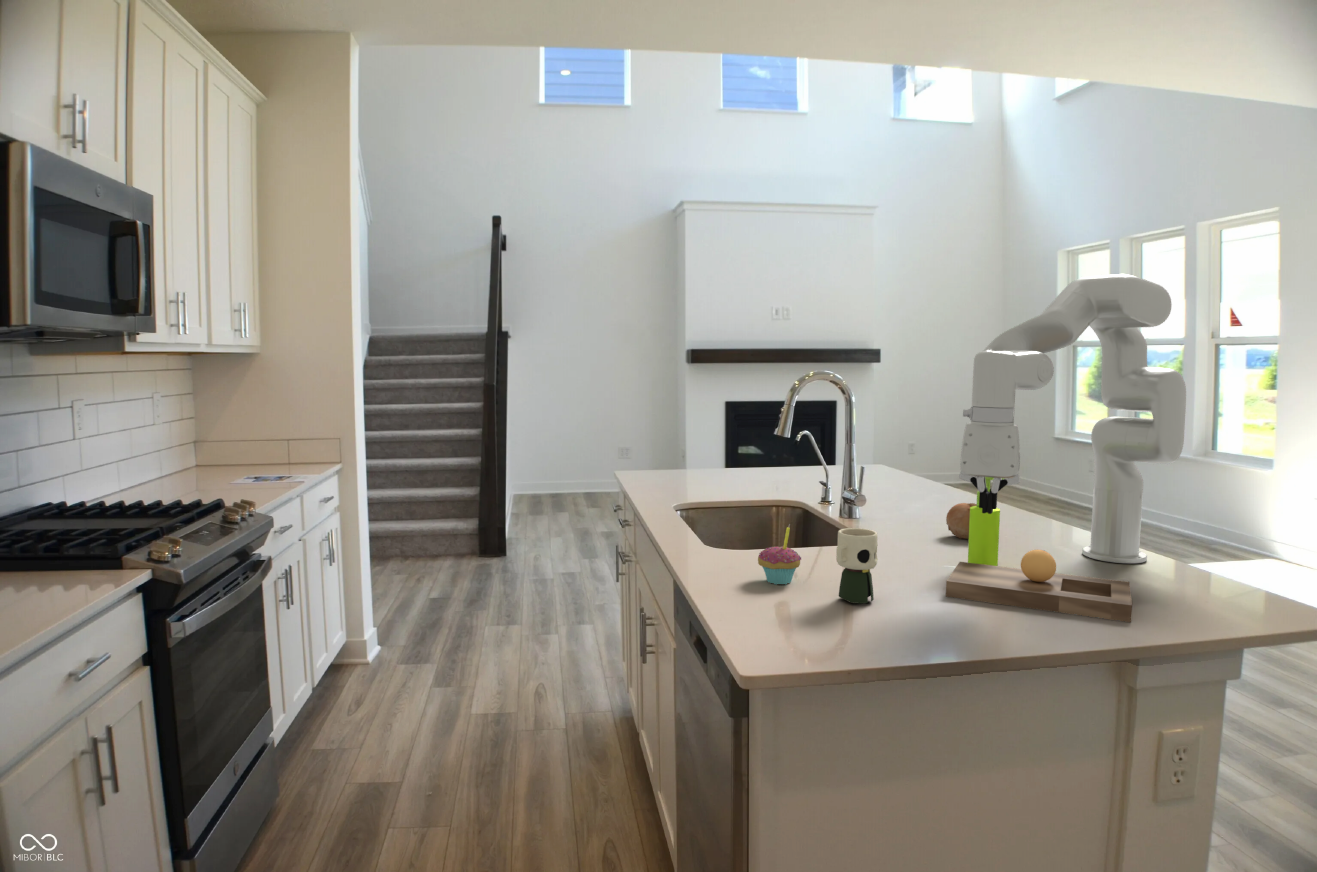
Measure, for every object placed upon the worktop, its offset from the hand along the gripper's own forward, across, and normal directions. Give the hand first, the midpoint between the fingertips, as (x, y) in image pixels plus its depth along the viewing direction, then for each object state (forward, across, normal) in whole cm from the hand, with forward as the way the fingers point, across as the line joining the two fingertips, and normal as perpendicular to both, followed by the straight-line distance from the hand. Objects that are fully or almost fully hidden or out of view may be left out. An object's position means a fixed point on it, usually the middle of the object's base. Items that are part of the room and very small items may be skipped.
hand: (987, 512), depth 151 cm
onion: (+15, -10, +46) cm, 49 cm away
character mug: (+16, -20, -18) cm, 31 cm away
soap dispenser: (+15, -2, +16) cm, 23 cm away
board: (+15, +9, 0) cm, 18 cm away
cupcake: (+16, -37, -14) cm, 42 cm away
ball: (+9, +9, 0) cm, 13 cm away
